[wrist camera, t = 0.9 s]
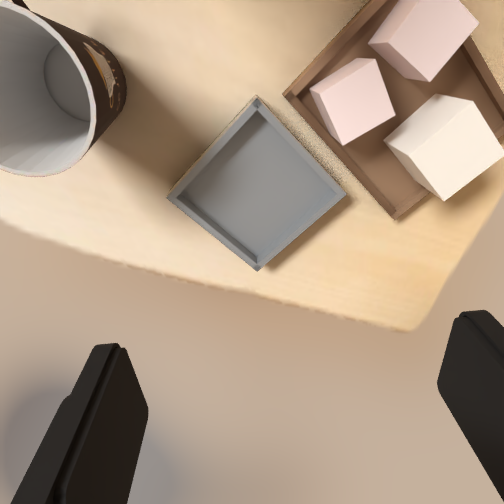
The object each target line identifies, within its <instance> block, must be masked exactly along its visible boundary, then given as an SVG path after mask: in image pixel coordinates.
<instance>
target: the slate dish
mask: <svg viewBox="0 0 504 504" xmlns="http://www.w3.org/2000/svg"><path fill="white" fill-rule="evenodd" d="M345 195H346V192H345V191H344V190H343V189H342V187H341V186H340V185H339V184H338V183H337V182H336V181H335V179H334V178H333V177H332V176H331V175H330V174H329V173H328V172H327V171H326V170H325V169H324V168H323V166H322V165H321V164H320V163H319V162H318V161H317V160H316V159H315V158H314V157H313V156H312V155H311V154H310V152H309V151H308V150H307V149H306V148H305V147H304V146H303V145H302V144H301V143H300V142H299V141H298V139H297V138H296V137H295V136H294V135H293V134H292V133H291V132H290V131H289V130H288V129H287V128H286V127H285V125H284V124H283V123H282V122H281V121H280V120H279V119H278V118H277V117H276V116H275V115H274V114H273V113H272V111H271V110H270V109H269V108H268V107H267V106H266V105H265V104H264V103H263V102H262V101H261V100H260V98H259V97H258V96H257V95H255V96H254V97H253V98H252V99H251V100H250V101H249V102H248V104H247V105H246V106H245V107H244V108H243V109H242V110H241V111H240V112H239V114H238V115H237V116H236V117H235V118H234V119H233V120H232V121H231V122H230V124H229V125H228V126H227V127H226V128H225V129H224V130H223V131H222V132H221V134H220V135H219V136H218V137H217V138H216V139H215V140H214V141H213V142H212V144H211V145H210V146H209V147H208V148H207V149H206V150H205V151H204V152H203V154H202V155H201V156H200V157H199V158H198V159H197V160H196V161H195V162H194V164H193V165H192V166H191V167H190V168H189V169H188V170H187V171H186V172H185V174H184V175H183V176H182V177H181V178H180V179H179V180H178V181H177V182H176V184H175V185H174V186H173V187H172V188H171V189H170V191H169V193H168V195H167V197H166V198H167V199H168V200H169V201H171V202H172V203H173V204H174V205H176V206H177V207H178V208H179V209H180V210H182V211H183V212H184V213H185V214H187V215H188V216H189V217H190V218H192V219H193V220H194V221H195V222H197V223H198V224H199V225H200V226H201V227H203V228H204V229H205V230H206V231H208V232H209V233H210V234H211V235H213V236H214V237H215V238H216V239H218V240H219V241H220V242H221V243H222V244H224V245H225V246H226V247H227V248H229V249H230V250H231V251H232V252H234V253H235V254H236V255H237V256H239V257H240V258H241V259H242V260H243V261H245V262H246V263H247V264H248V265H250V266H251V267H252V268H253V269H255V270H256V271H259V270H260V269H261V268H262V267H263V266H264V265H265V264H267V263H268V262H269V261H270V260H271V259H272V258H274V257H275V256H276V255H277V254H278V253H279V252H280V251H282V250H283V249H284V248H285V247H286V246H287V245H289V244H290V243H291V242H292V241H293V240H294V239H296V238H297V237H298V236H299V235H300V234H301V233H302V232H304V231H305V230H306V229H307V228H308V227H309V226H311V225H312V224H313V223H314V222H315V221H316V220H318V219H319V218H320V217H321V216H322V215H323V214H324V213H326V212H327V211H328V210H329V209H330V208H331V207H333V206H334V205H335V204H336V203H337V202H338V201H340V200H341V199H342V198H343V197H344V196H345Z"/></svg>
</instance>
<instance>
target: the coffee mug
mask: <svg viewBox="0 0 504 504" xmlns="http://www.w3.org/2000/svg"><path fill="white" fill-rule="evenodd" d="M12 1H13V3H12V2H9V1H7V0H0V170H3V171H6V172H9V173H12V174H16V175H22V176H28V177H45V176H50V175H54V174H58V173H61V172H63V171H65V170H67V169H69V168H71V167H72V166H73V165H74V164H76V163H77V162H78V161H79V160H81V158H82V157H83V156H84V155H85V154H86V152H87V151H88V150H89V149H90V148H91V147H92V145H93V144H94V143H95V142H96V141H97V139H98V138H99V137H100V136H101V135H102V134H103V132H104V131H105V130H106V129H107V128H108V126H109V125H110V124H111V123H112V122H113V121H114V119H115V118H116V117H117V116H118V114H119V113H120V112H121V110H122V108H123V106H124V104H125V100H126V90H127V87H126V81H125V76H124V74H123V71H122V68H121V66H120V65H119V63H118V61H117V59H116V58H115V57H114V56H113V54H112V53H111V52H110V51H109V50H108V49H107V48H106V47H105V46H104V45H102V44H101V43H99V42H98V41H96V40H94V39H92V38H90V37H88V36H85V35H83V34H81V33H79V32H76V31H74V30H72V29H70V28H68V27H65V26H63V25H61V24H59V23H56V22H54V21H52V20H50V19H48V18H45V17H43V16H41V15H39V14H36V13H34V12H32V11H30V10H29V8H28V7H27V6H26V4H25V3H24V2H23V0H12Z"/></svg>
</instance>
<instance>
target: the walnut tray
mask: <svg viewBox="0 0 504 504" xmlns="http://www.w3.org/2000/svg"><path fill="white" fill-rule="evenodd" d="M398 1H399V0H369V1H368V2H367V3H366V4H365V6H364V7H363V8H362V9H361V10H360V11H359V12H358V13H357V14H356V15H355V16H354V17H353V18H352V20H351V21H350V22H349V23H348V24H347V25H346V26H345V27H344V28H343V29H342V30H341V31H340V32H339V33H338V35H337V36H336V37H335V38H334V39H333V40H332V41H331V42H330V43H329V44H328V45H327V46H326V47H325V49H324V50H323V51H322V52H321V53H320V54H319V55H318V56H317V57H316V58H315V59H314V60H313V61H312V62H311V64H310V65H309V66H308V67H307V68H306V69H305V70H304V71H303V72H302V73H301V74H300V75H299V76H298V77H297V79H296V80H295V81H294V82H293V83H292V84H291V85H290V86H289V87H288V88H287V89H286V90H285V91H284V93H283V94H282V95H283V96H284V97H285V98H286V99H287V100H288V101H289V102H290V104H291V105H292V106H293V107H294V108H295V109H296V110H297V111H298V113H299V114H300V115H301V116H302V117H303V118H304V119H305V120H306V122H307V123H308V124H309V125H310V126H311V127H312V128H313V129H314V131H315V132H316V133H317V134H318V135H319V136H320V137H321V138H322V140H323V141H324V142H325V143H326V144H327V145H328V146H329V147H330V149H331V150H332V151H333V152H334V153H335V154H336V155H337V156H338V158H339V159H340V160H341V161H342V162H343V163H344V164H345V165H346V167H347V168H348V169H349V170H350V171H351V172H352V173H353V174H354V176H355V177H356V178H357V179H358V180H359V181H360V182H361V183H362V185H363V186H364V187H365V188H366V189H367V190H368V191H369V192H370V194H371V195H372V196H373V197H374V198H375V199H376V200H377V201H378V203H379V204H380V205H381V206H382V207H383V208H384V209H385V210H386V212H387V213H388V214H389V215H390V216H391V217H392V218H393V219H394V220H395V219H397V218H398V217H399V216H401V215H402V214H403V213H404V212H406V211H407V210H408V209H409V208H411V207H412V206H413V205H415V204H416V203H417V202H418V201H420V200H421V199H422V198H423V197H425V196H426V195H427V194H429V193H430V191H429V190H428V189H426V188H425V187H423V186H422V185H421V184H419V183H418V182H417V181H415V180H414V178H413V177H412V176H411V175H410V173H409V172H408V171H407V170H406V168H405V167H404V166H403V165H402V163H401V162H400V161H399V160H398V158H397V157H396V156H395V155H394V153H393V152H392V151H391V150H390V148H389V147H388V146H387V145H386V143H385V142H384V141H383V140H384V139H385V138H386V137H387V136H388V135H390V134H391V133H392V132H393V131H394V130H395V129H396V128H397V127H399V126H400V125H401V124H402V123H403V122H404V121H405V120H406V119H407V118H409V117H410V116H411V115H412V114H413V113H414V112H415V111H416V110H418V109H419V108H420V107H421V106H422V105H423V104H424V103H425V102H427V101H428V100H429V99H430V98H431V97H432V96H433V95H434V94H441V95H446V96H451V97H455V98H460V99H465V100H470V101H473V102H474V103H475V105H476V107H477V108H478V110H479V111H480V113H481V115H482V116H483V118H484V119H485V121H486V123H487V124H488V126H489V127H490V129H491V131H492V132H493V134H494V135H495V137H496V139H499V138H500V137H501V136H502V135H504V94H503V92H502V91H501V89H500V87H499V85H498V84H497V82H496V80H495V78H494V77H493V75H492V73H491V71H490V70H489V68H488V66H487V64H486V63H485V61H484V59H483V57H482V56H481V54H480V52H479V50H478V49H477V47H476V45H475V43H474V42H473V40H472V38H471V36H470V35H469V36H468V37H467V39H466V40H465V41H464V42H463V43H462V45H461V46H460V47H459V48H458V49H457V50H456V52H455V53H454V54H453V55H452V56H451V58H450V59H449V60H448V61H447V62H446V64H445V65H444V66H443V67H442V68H441V70H440V71H439V72H438V73H437V74H436V75H435V77H434V78H433V79H432V80H431V81H430V82H427V81H420V80H414V79H407V78H404V77H403V76H402V75H401V74H400V73H399V72H398V71H397V70H396V69H395V68H393V67H392V66H391V65H390V64H389V63H388V62H387V61H386V60H385V59H384V58H383V57H381V56H380V55H379V54H378V53H377V52H376V51H375V50H374V49H373V48H372V47H371V46H370V45H368V42H369V41H370V40H371V38H372V37H373V35H374V34H375V33H376V31H377V30H378V29H379V27H380V26H381V24H382V23H383V22H384V20H385V19H386V18H387V16H388V15H389V13H390V12H391V11H392V9H393V8H394V7H395V5H396V4H397V2H398ZM356 58H367V59H376V62H377V65H378V68H379V70H380V73H381V76H382V79H383V82H384V84H385V87H386V90H387V93H388V96H389V98H390V101H391V104H392V107H393V110H394V112H395V116H393V117H392V118H390V119H388V120H387V121H385V122H383V123H381V124H380V125H378V126H376V127H374V128H373V129H371V130H369V131H367V132H366V133H364V134H362V135H361V136H359V137H357V138H355V139H354V140H352V141H350V142H348V143H347V144H345V145H341V144H340V143H339V142H338V141H337V140H336V139H335V138H334V137H333V136H331V135H330V133H329V131H328V129H327V127H326V124H325V122H324V120H323V118H322V116H321V114H320V112H319V109H318V107H317V105H316V103H315V101H314V99H313V96H312V94H311V92H310V90H309V88H310V87H312V86H314V85H315V84H317V83H318V82H320V81H321V80H323V79H325V78H326V77H328V76H329V75H331V74H332V73H334V72H336V71H337V70H339V69H340V68H342V67H343V66H345V65H347V64H348V63H350V62H351V61H353V60H354V59H356Z"/></svg>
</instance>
